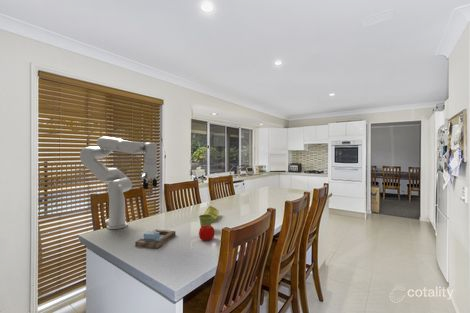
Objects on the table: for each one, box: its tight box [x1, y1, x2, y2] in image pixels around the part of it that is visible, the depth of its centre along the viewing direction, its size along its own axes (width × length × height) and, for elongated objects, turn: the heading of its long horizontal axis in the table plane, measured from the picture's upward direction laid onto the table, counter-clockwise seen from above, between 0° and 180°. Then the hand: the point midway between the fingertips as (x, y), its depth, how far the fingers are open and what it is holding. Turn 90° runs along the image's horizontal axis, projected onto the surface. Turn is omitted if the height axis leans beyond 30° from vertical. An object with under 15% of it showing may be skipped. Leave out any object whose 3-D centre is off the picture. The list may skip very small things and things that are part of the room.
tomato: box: [198, 225, 216, 242], centre depth 135 cm, size 9×9×8 cm
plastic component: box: [203, 205, 220, 223], centre depth 177 cm, size 20×7×10 cm
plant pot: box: [198, 214, 213, 228], centre depth 152 cm, size 9×9×9 cm
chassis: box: [134, 229, 177, 250], centre depth 133 cm, size 13×20×3 cm, turn 167°
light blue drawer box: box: [140, 230, 163, 242], centre depth 128 cm, size 11×4×6 cm, turn 78°
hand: (150, 187), depth 154 cm, fingers open, 9 cm apart
